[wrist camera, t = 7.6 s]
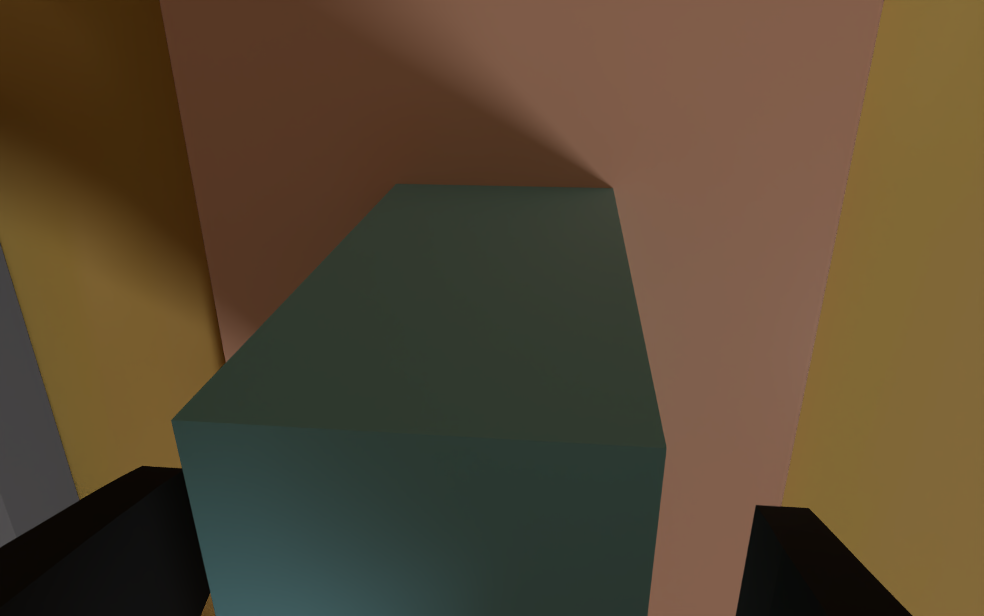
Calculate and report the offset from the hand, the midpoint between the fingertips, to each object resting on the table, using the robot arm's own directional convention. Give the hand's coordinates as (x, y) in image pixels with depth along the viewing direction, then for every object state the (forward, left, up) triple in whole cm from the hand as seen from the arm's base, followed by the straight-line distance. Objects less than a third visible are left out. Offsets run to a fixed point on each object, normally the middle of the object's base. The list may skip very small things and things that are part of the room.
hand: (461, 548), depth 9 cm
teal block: (0, 0, -6) cm, 6 cm away
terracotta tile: (0, 0, -6) cm, 6 cm away
